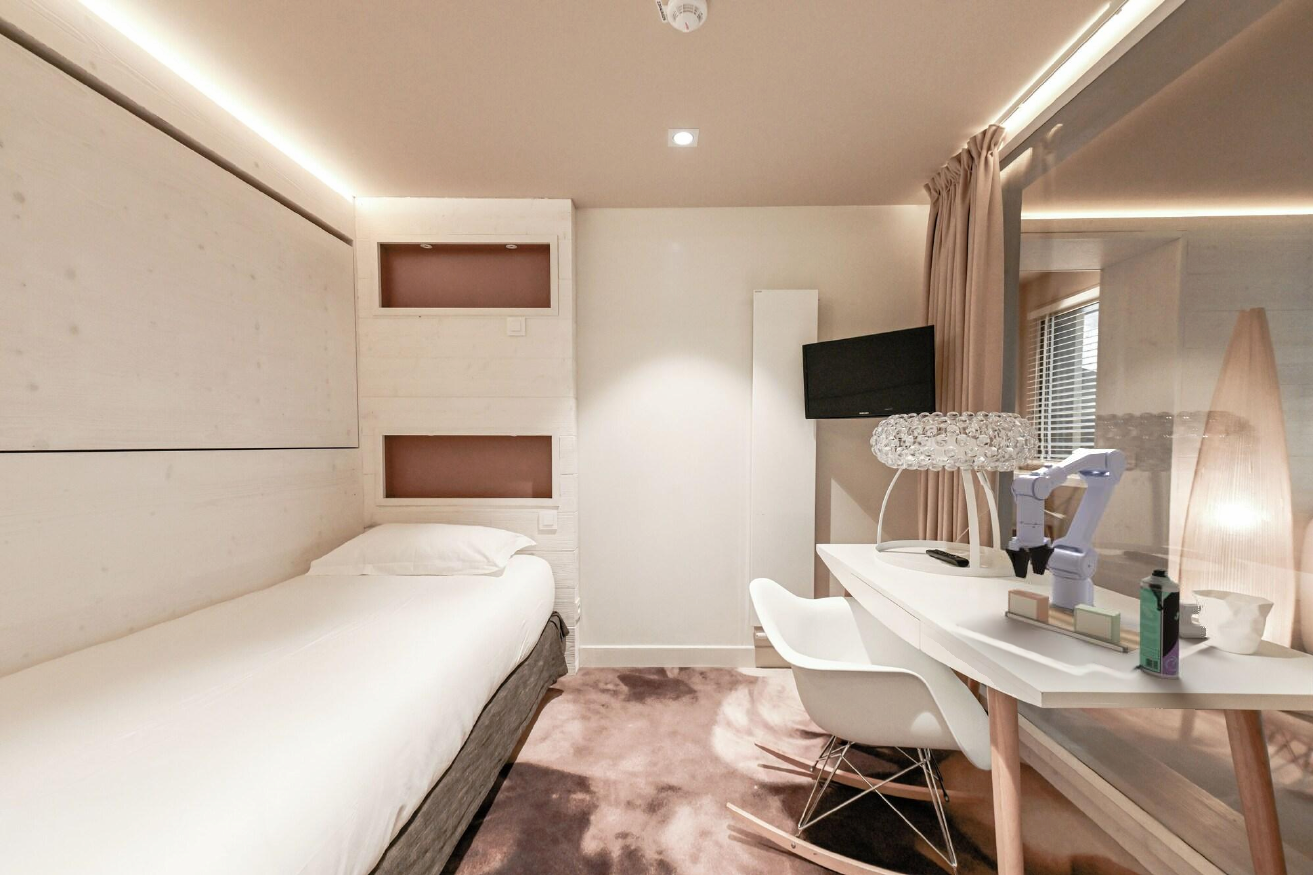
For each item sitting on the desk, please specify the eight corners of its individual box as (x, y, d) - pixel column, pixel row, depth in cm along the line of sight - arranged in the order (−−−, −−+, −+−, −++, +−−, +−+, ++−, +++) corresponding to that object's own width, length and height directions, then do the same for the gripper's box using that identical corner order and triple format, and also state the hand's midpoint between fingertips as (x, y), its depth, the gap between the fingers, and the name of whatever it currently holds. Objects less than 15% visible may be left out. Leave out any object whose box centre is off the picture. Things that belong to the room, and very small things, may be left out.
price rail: (1007, 619, 129) (1007, 610, 129) (1128, 657, 107) (1128, 646, 107) (1005, 620, 129) (1005, 611, 129) (1125, 658, 107) (1125, 647, 107)
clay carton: (1017, 612, 131) (1018, 588, 131) (1048, 621, 125) (1048, 596, 125) (1007, 614, 129) (1008, 590, 129) (1038, 624, 123) (1038, 598, 123)
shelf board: (1045, 610, 136) (1045, 606, 136) (1165, 644, 114) (1165, 638, 114) (1005, 620, 129) (1005, 615, 129) (1125, 658, 107) (1125, 652, 107)
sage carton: (1080, 629, 119) (1080, 603, 119) (1120, 639, 114) (1120, 612, 114) (1073, 633, 117) (1074, 606, 117) (1113, 644, 111) (1114, 616, 111)
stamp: (1188, 633, 121) (1188, 597, 121) (1218, 644, 114) (1219, 606, 114) (1149, 632, 121) (1149, 596, 121) (1177, 644, 114) (1177, 606, 114)
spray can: (1182, 681, 97) (1184, 574, 97) (1143, 674, 100) (1144, 570, 100) (1173, 670, 102) (1174, 568, 101) (1136, 663, 105) (1137, 564, 104)
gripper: (1030, 518, 140) (1029, 569, 140) (996, 522, 133) (996, 575, 133) (1060, 522, 133) (1059, 575, 133) (1025, 526, 127) (1025, 582, 127)
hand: (1029, 575), depth 133 cm, fingers open, 7 cm apart
